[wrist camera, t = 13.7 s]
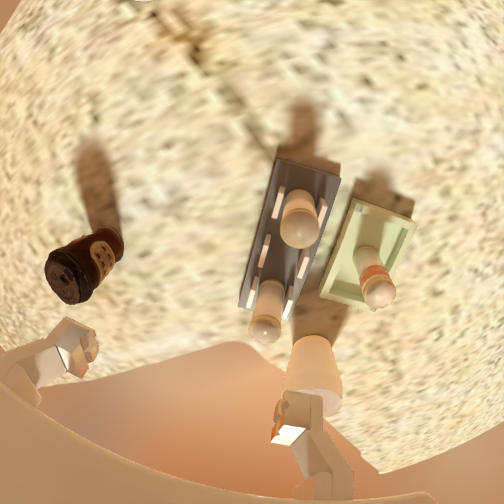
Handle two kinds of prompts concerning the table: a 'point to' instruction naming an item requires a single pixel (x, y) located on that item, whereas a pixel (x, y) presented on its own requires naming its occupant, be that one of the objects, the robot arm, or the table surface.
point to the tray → (358, 234)
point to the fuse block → (271, 243)
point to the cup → (315, 372)
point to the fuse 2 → (299, 220)
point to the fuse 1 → (267, 312)
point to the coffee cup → (83, 264)
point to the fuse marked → (373, 277)
